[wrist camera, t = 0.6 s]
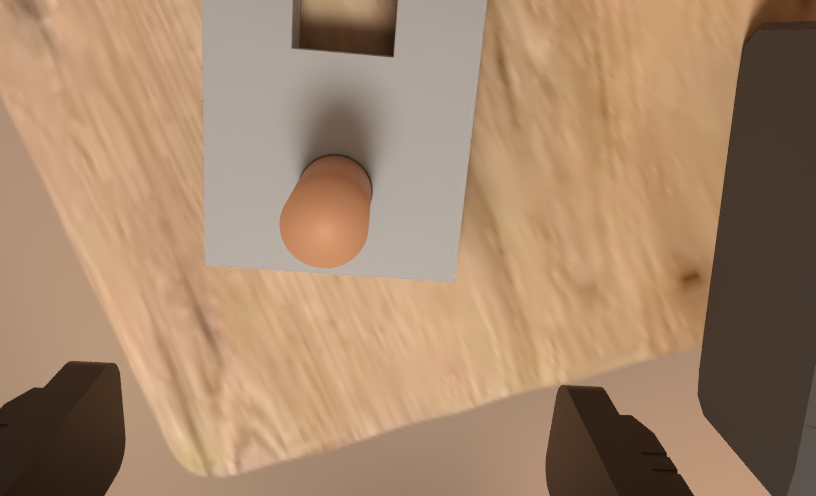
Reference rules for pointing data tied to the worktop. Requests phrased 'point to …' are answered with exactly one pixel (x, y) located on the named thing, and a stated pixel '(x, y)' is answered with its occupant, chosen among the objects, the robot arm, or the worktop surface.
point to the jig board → (338, 141)
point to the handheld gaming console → (767, 267)
